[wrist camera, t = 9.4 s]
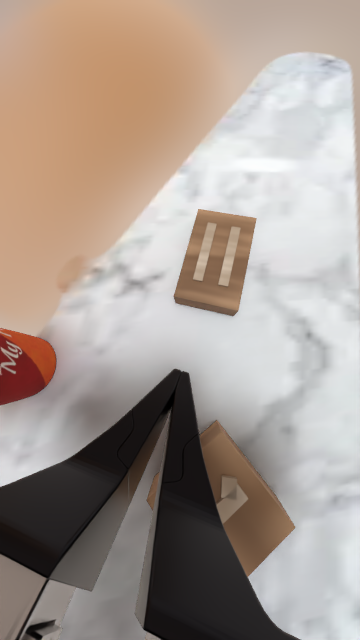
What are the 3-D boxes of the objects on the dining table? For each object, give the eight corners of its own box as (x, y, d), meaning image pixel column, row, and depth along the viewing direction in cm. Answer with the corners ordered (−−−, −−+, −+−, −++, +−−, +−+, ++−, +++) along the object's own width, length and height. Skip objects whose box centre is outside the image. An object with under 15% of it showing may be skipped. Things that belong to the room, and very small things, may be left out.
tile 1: (209, 559, 14) (214, 616, 11) (155, 473, 15) (145, 502, 12) (274, 493, 14) (297, 530, 11) (216, 418, 16) (221, 432, 13)
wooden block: (238, 310, 16) (257, 216, 18) (173, 295, 16) (198, 207, 18) (232, 317, 18) (249, 234, 20) (176, 304, 19) (197, 226, 21)
